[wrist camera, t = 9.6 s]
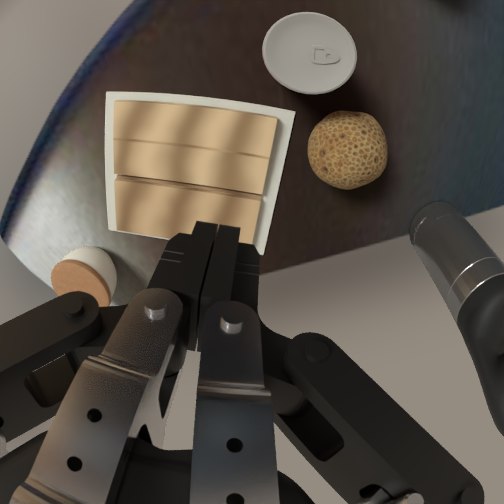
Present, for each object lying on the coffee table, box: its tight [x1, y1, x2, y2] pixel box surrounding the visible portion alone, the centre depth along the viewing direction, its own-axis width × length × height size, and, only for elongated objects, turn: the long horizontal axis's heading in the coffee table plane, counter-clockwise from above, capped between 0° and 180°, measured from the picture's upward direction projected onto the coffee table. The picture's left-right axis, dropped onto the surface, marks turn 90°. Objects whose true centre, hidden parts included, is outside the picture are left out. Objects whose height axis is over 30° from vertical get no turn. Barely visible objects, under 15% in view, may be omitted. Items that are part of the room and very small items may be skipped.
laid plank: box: [114, 174, 261, 244], centre depth 42 cm, size 20×8×1 cm, turn 81°
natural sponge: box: [308, 111, 388, 190], centre depth 32 cm, size 9×9×10 cm
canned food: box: [262, 12, 357, 94], centre depth 26 cm, size 8×8×11 cm
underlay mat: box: [105, 92, 295, 255], centre depth 40 cm, size 24×21×1 cm
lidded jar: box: [51, 246, 117, 307], centre depth 45 cm, size 11×11×9 cm
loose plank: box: [113, 100, 278, 194], centre depth 36 cm, size 20×10×1 cm, turn 81°
